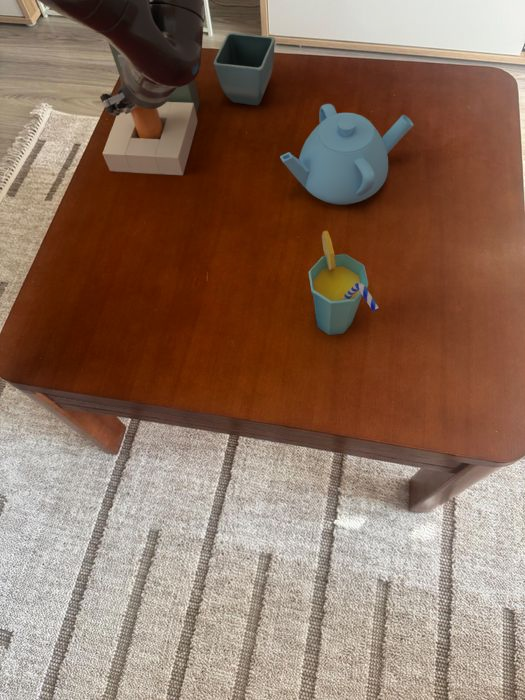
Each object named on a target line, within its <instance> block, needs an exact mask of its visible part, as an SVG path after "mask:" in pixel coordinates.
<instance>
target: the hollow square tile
mask: <svg viewBox="0 0 525 700" xmlns="http://www.w3.org/2000/svg"><path fill="white" fill-rule="evenodd" d="M157 110H158V113H159V116H160V120H161V123H162V127H163V132H162V135H161V136H160V138H158V139H143V138H140V137H139V135H138V132H137V129H136V126H135V124H134V121H133V118H132V115H131V112H130V113H128V114H125V112H123V113H120V115H118V116H117V115H116V116H115V119H114V122H113V123H112V124H113V125H112V127H111V130H110V132H109V135H108V138H107V141H106V143H105V146H104V149H103V151H102V156H103V158H104V161H105V163H106V165H107V168H108V170H109V172H116V173H133V174H134V173H135V174H151V175H167V176H169V175H170V176H184V173H185V170H186V166H187V162H188V159H189V155H190V151H191V147H192V144H193V140H194V136H195V133H196V130H197V125H198V122H199V121H198V115H197V114H196V111H195V107H194V103H184V102H166V103H165V104H164V105H162V106H161V107H158V108H157Z"/></svg>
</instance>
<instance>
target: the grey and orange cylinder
mask: <svg viewBox="0 0 525 700" xmlns="http://www.w3.org/2000/svg"><path fill="white" fill-rule="evenodd" d="M130 112H131V115H132V118H133V121H134V124H135V126H136V129H137V132H138V135H139V137H140V138H143V139H160V138H161V135H162V132H163V127H162V123H161V120H160V116H159V113H158V110H157V108H155V109H145V108H141V107H138V108H135V109H133V110H131V111H130Z"/></svg>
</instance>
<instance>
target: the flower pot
mask: <svg viewBox="0 0 525 700" xmlns="http://www.w3.org/2000/svg"><path fill="white" fill-rule="evenodd" d="M275 43H276V38H275V37H273V36H268V35H257V34H247V33H237V32H228V33H227V34H226V35H225V37H224V39H223V41H222V44H221V46H220V47H219V50H218V52H217V54H216V56H215V58H214V60H213V67H214V71H215V73H216V77H217V79H218V84H219V86H220V88H221V90H222V92H223V94H224V95H225V96H226V97H227V99H229V100H230V101H231V102H233V103H235V104H242V105H251V106H259V105H260V103H261V102H262V100H263V96H264V95H265V92H266V89H267V87H268V85H269V82H270V81H271V80H270V79H271V76H272V74H273V68H274V60H275V48H276V47H275V46H276V44H275Z"/></svg>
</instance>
